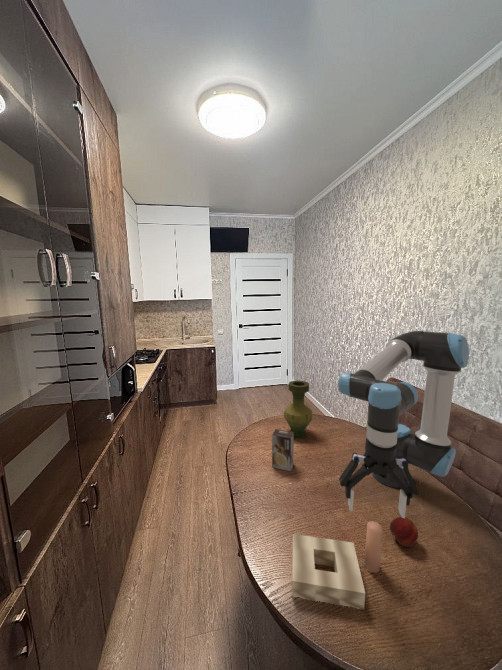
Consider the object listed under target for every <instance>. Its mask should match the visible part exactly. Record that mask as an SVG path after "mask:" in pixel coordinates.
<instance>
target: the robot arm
mask: <svg viewBox="0 0 502 670" xmlns="http://www.w3.org/2000/svg"><path fill="white" fill-rule="evenodd" d="M469 349H470V348H469V344H468V340H467V338H466V337H465V336H464V335H462V334H458V333H450V332H436V331H424V330H414V331H408V332H405V333H402V334H399V335H397V336H394V337H393V338H392V339H391V340H389V341H388V342H387V343H386V345H385V348H384V349H382V350H381V351H380V352H379V353H377V354H376V355H375V356H374V357H373V358H371V360H369V361H368V362H367V363H365V364H364V365H363V366H362V367H361V368H359V369H358V370H357V371H356V372H355V373H352V372H343V373H342V374H341V375H339V378H338V383H337V388H338V391H339V393H341V394H343V395H345V396H348V397H349V398H353V399H357V400H361V401H364V402H366V403H367V405H368V406H367V420H366V432H365V436H366V438H365V447H364V449H365V450H364V454H363V455H360V454H358V453H357V452H353V453H352V456H351V460H350V461H349V463H348V464H347V466H346V467H345V468H344V470H343V471H342V473H341V475H340V477H339V479H338V481H339V483H340V486H341V487H345V489H344V490H345V491H344V494H345V497H346V498H345V499H347V503H348V504H347V505H348V509H349V512H354V511H353V510H354V497H355V489H354V487H355V486H356V485H358V484H359V483H360V482H361V481H362V480H363V479H364V478H365V477H367V476H370V475H371V474H372V477H373V478H374V479H375V480H376V481H378V482H379V483H382V484H383V485H385V486H387V487H390V488H394V489H400V490H399V498H398V499H399V500H398V510H397V511H398V513H399V514H400V517H402V518H405V517H406V510H407V506H410V504H411V499H413V497H414V496H413V495H419V493H420V492H419V490H418V487H417V486H416V484H415V481H414V479H413V477H412V475H411V472H410V469H409V464H410V465H412V466H414V467H416V468H418V469H421V470H423V471H425V472H427V473H429V474H432V475H436V476H438V477H446V476H447V475H448V474H449V472H450V470H451V467H452V465H453V464H454V462H455V461H454V460H455V457H456V453H457V450H456V449H455V448H454V447H452V440H450V439H449V437H448V430H449V423H450V415H451V407H452V401H453V394H454V385H455V379H456V375H458V374H459V373H461V372H462V369H464V368H466V367H467V366H468V365H469V360H470V351H469ZM408 360H417V361H420V362H423V364H422V365H423V368H424V369H425V370H426V371H427V372H426V379H425V388H424V395H423V397H424V398H423V403H422V404H423V405H422V413H421V419H420V428H419V429H418V430H416V431H415V433H412V431H411V429H410V427H408V426H407V425H405V424H402V423H399V421H400V420H399V419H400V416H401V415H402V414H404V413H405V412H407V411H408V410H411V409H412V408H413V407H414V406H415V405H416V403H417V402H418V400H419V393H418V391H417V389H416V387H415V386H414V385H412V384H411V383H409V382H405V381H399V382H395V383H394V382H389V381H386V380H385V379H386V378H387V377H388V376H389V375H390V374H391V372H393V371H394V370H395V369H396V368H397V367H398V366H399V365H400V364H401V363H405V362H407V361H408ZM384 380H385V381H384ZM361 462H363V464H361ZM360 464H361V467H360V468H358V466H359V465H360ZM357 468H358V469H357Z"/></svg>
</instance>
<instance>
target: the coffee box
mask: <svg viewBox="0 0 502 670" xmlns="http://www.w3.org/2000/svg"><path fill="white" fill-rule="evenodd" d="M294 439H295V438H294V432H290V430H284V429H280V428H279V429H278V428H274V430H273V432H272V434H271V465H272V466H271V467H272V468H275V469H280V470H283V471H288V472H292V470H293V467H294V464H295V463H294V453H295V452H294V449H295V448H294V447H295V445H294V444H295V442H294Z"/></svg>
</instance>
